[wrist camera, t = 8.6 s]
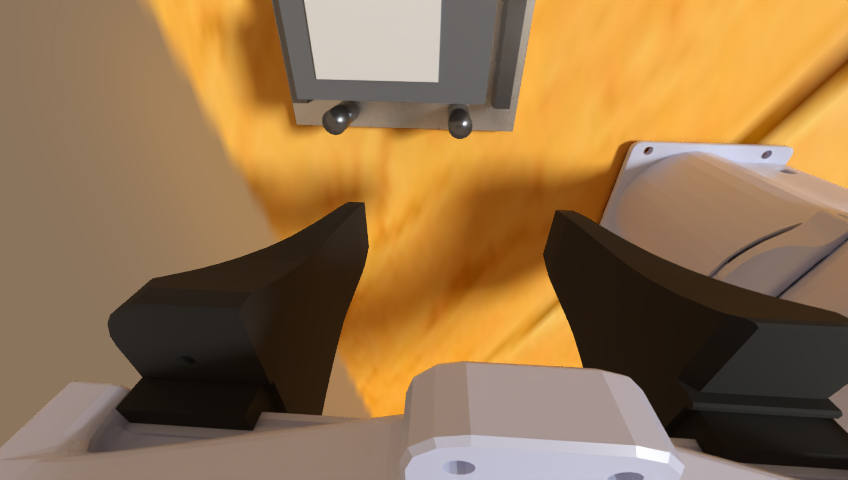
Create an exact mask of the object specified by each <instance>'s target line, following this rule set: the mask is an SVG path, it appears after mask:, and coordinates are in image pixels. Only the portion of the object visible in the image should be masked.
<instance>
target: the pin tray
mask: <svg viewBox="0 0 848 480" xmlns="http://www.w3.org/2000/svg"><path fill="white" fill-rule="evenodd" d="M272 5H273V10H274V15H275V20H276V25H277V29H278V34H279V39H280V44H281V49H282V54H283V59H284V64H285V69H286V74H287V79H288V84H289V88H290V93H291V98H292V103H293V108H294V113H295V118H296V123H297V125H323V126H324V128H325V129H326V131H328V132H329V133H331V134H333V135H338V134H341V133H342V132H343V131H344V130H345V129H346V128H347V127H348V126H356V127H388V128H420V129H449V132H450V134H451V135H452V136H453V137H455V138H457V139H462V138H465V137H467V136H468V135H469V134H470V133H471V131H472V130H483V131H513V126H514V121H515V115H516V109H517V103H518V97H519V92H520V86H521V80H522V74H523V68H524V63H525V57H526V51H527V45H528V39H529V34H530V28H531V22H532V16H533V10H534V5H535V0H497V8H496V17H495V25H494V34H493V42H492V50H491V59H490V67H489V76H488V84H487V93H486V101H485V104H451V103H416V102H381V101H346V100H311V99H297V94H296V88H295V83H294V78H293V73H292V68H291V63H290V57H289V52H288V47H287V42H286V37H285V32H284V27H283V21H282V16H281V11H280V6H279V1H278V0H272Z"/></svg>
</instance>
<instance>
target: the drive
mask: <svg viewBox="0 0 848 480" xmlns="http://www.w3.org/2000/svg"><path fill="white" fill-rule="evenodd" d="M278 1H279V6H280V11H281V16H282V21H283V27H284V32H285V37H286V42H287V47H288V52H289V57H290V63H291V68H292V73H293V78H294V83H295V88H296V94H297V99H311V100H346V101H381V102H416V103H451V104H485V101H486V93H487V84H488V76H489V67H490V59H491V50H492V42H493V34H494V25H495V17H496V8H497V0H278Z"/></svg>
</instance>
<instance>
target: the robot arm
mask: <svg viewBox="0 0 848 480" xmlns="http://www.w3.org/2000/svg"><path fill="white" fill-rule="evenodd" d="M647 147H650V148H649V150H648V151H647V152H646V153H644V150H645V148H647ZM764 152H766V153H765V154H764V155H763V156H762V154H763V153H764ZM792 154H793V149H792V148H791V147H788V146H785V145H759V144H728V143H697V142H665V141H636V142H634V143H633V144H632V145H631V146H630V148H629V150H628V152H627V155H626V157H625V160H624V162H623V165H622V168H621V170H620V173H619V175H618V178H617V180H616V183H615V186H614V188H613V191H612V193H611V196H610V199H609V201H608V204H607V206H606V209H605V211H604V214H603V217H602V219H601V222H600V224H597V223H595V222H594V221H592V220H590V219H588V218H587V217H585V216H583V215H581V214H579V213H577V212H574V211H563V210H556V212H555V215H554V219H553V222H552V226H551V229H550V233H549V236H548V240H547V243H546V246H545V250H544V253H543V256H544V260H545V265H546V269H547V272H548V276H549V278H550V281H551V283H552V286H553V288H554V290H555V293H556V295H557V297H558V299H559V302H560V304H561V306H562V308H563V311H564V313H565V315H566V318H567V320H568V322H569V324H570V327H571V330H572V332H573V335H574V338H575V341H576V345H577V348H578V351H579V354H580V358H581V361H582V365H583V368H576V367H559V366H541V365H523V364H506V363H488V362H470V361H462V362H453V363H443V364H437V365H435V366H433V367H432V368H430V369H428V370H426V371H424V372H422V373H420V374H418V375H417V376H415V377H414V378H413V380H412V382H411V384H410V386H409V388H408V390H407V393H406V401H405V411H404V414H400V415H392V416H384V417H376V418H369V419H367V418H352V417H351V418H350V417H336V416H322V411H323V407H324V401H325V397H326V392H327V388H328V383H329V378H330V374H331V370H332V366H333V361H334V357H335V353H336V349H337V345H338V341H339V337H340V334H341V330H342V326H343V322H344V319H345V316H346V313H347V311H348V308H349V306H350V303H351V301H352V298H353V295H354V293H355V290H356V288H357V285H358V283H359V280H360V277H361V275H362V272H363V269H364V266H365V262H366V258H367V253H368V248H369V244H368V234H367V224H366V214H365V204H364V203H362V202H348V203H346V204H344V205H342V206H340V207H339V208H337V209H336V210H334V211H333V212H331V213H330V214H328V215H326V216H325V217H323V218H322V219H320V220H319V221H317V222H315V223H314V224H312V225H310V226H309V227H307V228H305V229H303V230H302V231H300V232H298V233H296V234H295V235H293V236H291V237H289V238H287V239H285V240H282V241H280V242H278V243H276V244H274V245H271V246H269V247H267V248H264V249H261V250H259V251H256V252H253V253H250V254H248V255H245V256H242V257H240V258H236V259H233V260H230V261H226V262H223V263H220V264H216V265H212V266H208V267H205V268H201V269H196V270H192V271H188V272H182V273H178V274H173V275H168V276H164V277H158V278H153V279H152V280H150V281H149V282H148V283H146V284H145V285H144V286H143V287H142V288H141V289H140V290H138V291H137V292H136V293H135V294H134V295H133V296H131V297H130V298H129V299H128V300H127V301H126V302H125V303H123V304H122V305H121V306H120V307H119V308H117V309H116V310H115V311H114V312H113V313H112V314H111V315H110V317H109V320H108V328H109V333H110V337H111V338H112V340H113V341H114V343H115V344H116V346H117V347H118V348H119V349H120V351H121V352H122V353H123V354H124V355H125V357H126V358H127V359H128V360H129V361H130V363H131V364H132V365H133V366H134V367H135V369H136V370H137V371H138V372H139V373H140V375H141V376H142V377H143V378H142V379H141V380H140V381H139V382H138V383H137V384H136V385H135V387H134V388H133V389H132V390H131V389H130V388H127V387H125V386H123V385H118V384H111V383H95V382H78V381H76V382H71V383H69V384H68V385H67V386H66V387H65V388H64V389H63V390H62V391H60V392H59V393H58V394H57V395H56V396H55V397H54V398H53V399H52V400H51V401H50V402H49V403H48V404H47V405H46V406H44V407H43V408H42V409H41V410H40V411H39V412H38V413H37V414H36V415H35V416H34V417H33V418H32V419H30V420H29V421H28V422H27V423H26V424H25V425H24V426H23V427H22V428H21V429H20V430H19V431H18V432H17V433H15V434H14V435H13V436H12V437H11V438H10V439H9V440H8V441H7V442H6V443H5V444H4V445H3V446H2V447H1V448H0V480H848V189H847V188H844V187H841V186H839V185H836V184H834V183H831V182H828V181H826V180H823V179H821V178H818V177H815V176H813V175H810V174H808V173H805V172H802V171H800V170H797V169H794V168H792V167H789V166H787V165H786V163H787V162H788V160H789V159H790V157H791V156H792Z"/></svg>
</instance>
